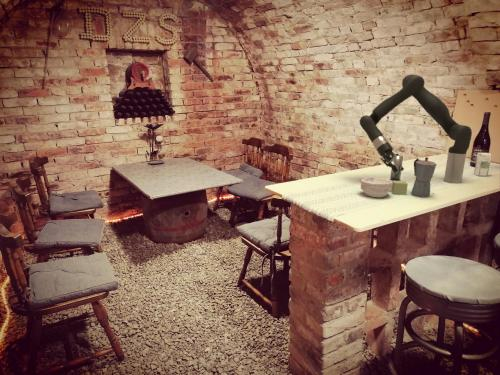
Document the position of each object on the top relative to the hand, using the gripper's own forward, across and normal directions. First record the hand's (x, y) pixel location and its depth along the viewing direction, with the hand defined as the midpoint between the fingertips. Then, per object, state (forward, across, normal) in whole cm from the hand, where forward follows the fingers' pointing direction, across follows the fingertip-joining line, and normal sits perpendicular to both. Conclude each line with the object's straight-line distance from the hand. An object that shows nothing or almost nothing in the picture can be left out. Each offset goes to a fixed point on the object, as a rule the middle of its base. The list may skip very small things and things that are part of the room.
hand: (399, 170), depth 190 cm
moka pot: (+16, +1, -1) cm, 16 cm away
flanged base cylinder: (+3, 0, +6) cm, 6 cm away
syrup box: (+15, +75, -1) cm, 77 cm away
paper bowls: (+7, -19, +8) cm, 22 cm away
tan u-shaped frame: (+8, -2, +7) cm, 11 cm away
